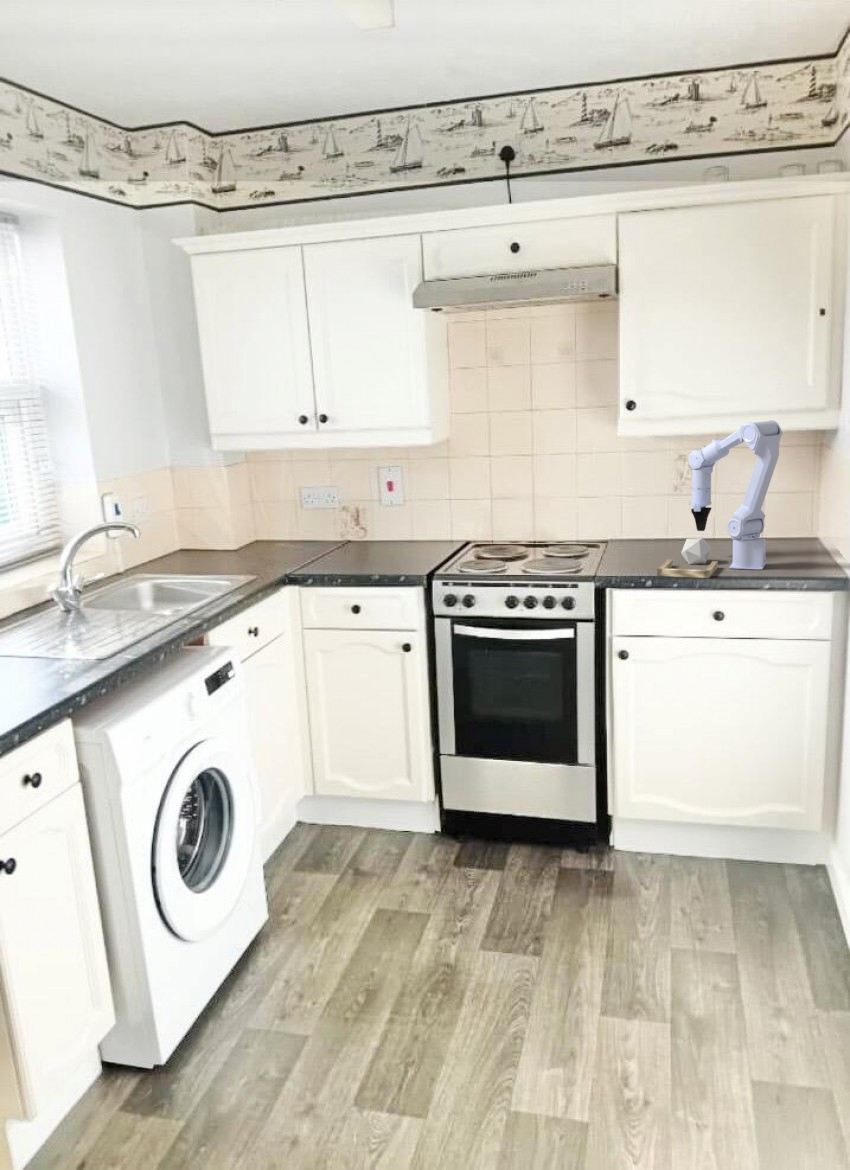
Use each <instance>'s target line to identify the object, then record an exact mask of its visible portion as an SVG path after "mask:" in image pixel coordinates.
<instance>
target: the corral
mask: <svg viewBox="0 0 850 1170" xmlns="http://www.w3.org/2000/svg"><path fill="white" fill-rule="evenodd" d="M673 561H674V560H673V559H667V560H665V561H664V562H663V563H662V564H661V565H660V566H659V567H658V568H657V569H656V570H657V571H656V573H657V574H656V575H657V576H658V577H672V578H673V577H675V578H676V577H677V578H696V579H697V578H702V579H711V577H712V575H713V574H714V573H715V572H716V571H717V569H718V566H719V565H718V564H719V563H718V562H719V561H711V563H710V564H709V565H708V566H707V567H706V568H705V569H691V568H690V569H688V568H687V569H686V568H685V569H684V568H672V567H673V564H674V562H673Z"/></svg>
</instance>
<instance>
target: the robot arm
mask: <svg viewBox="0 0 850 1170" xmlns="http://www.w3.org/2000/svg"><path fill="white" fill-rule="evenodd" d="M782 436H783V431H782V429H781V426H780V424H779V422H778V421H775V420H772V419H770V420H768V421H767V420H765V421H764V420H763V421H757V422H752V421H751V422H746V423H745V424H743V425H741V426H740V427H739V428H738V429H737V430H735V431H734V432H732V433H731V434H729V435H728V436H726V438H724V439H722V438H714V439H712V440H711V442H710V443H708V444H707V445H703V446H702V447H701V449H700V450H698V449H697V450H696V449H695V450H692V452H690V454H689V455H688V459H687V460H688V465H689V467H690V468H691V469H692V470H691V475H692V477H691V501H688V502H687V505H691V506H692V507H693V508H691V509H690V510H691V511H690V512H691V514H692V516H693V518H694V522H695V527H696V530H697V532H704V531H705V530H706V525H707V524H708V523H707V521H708V518H709V515H710V512H711V511H712V507H709V506H711V505H712V501H711V500H712V473H713V472H714V471H713V470H714V466H715V464H716V462H718V461H720V460H722V459H723V458H724V457H726V456H728V455H729V453H730V450H731V449H732V448H733V449H734V448H735V447H736V446H738V445H741V444H742V443H745V444H746V446H747V447H748V448H749V450H750V451H751V452H752V453H753V454H754V455H755V456H756V460H755V464H754V466H753V470H752V472H751V476H750V479H749V482H748V485H747V488H746V491H745V494H744V499H743V501H742V503H741V506H739V508H738V509H736V510H735V511H733V514H732V517H730V519H729V520H728V521H727V524H726V525H727V527H726V529H727V532H728V534H729V536H730V538H731V539H732V562H731V564H730V565H729V569H735V570H736V569H737V570H739V569H740V570H741V569H742V570H759V571H760V570H764V568H765V566H766V562H767V561H766V560H767V557H766V552H767V551H766V550H767V549H766V546H767V541H766V539H765V538H760V537H761V534H762V533H763V531H764V529H765V518H766V514H765V512H764V511H763V510H762V508H763V505H764V501H765V498H766V495H767V492H768V490H769V487H770V483H771V481H772V478H773V475H774V471H775V469H776V466H777V464H778V463H777V462H778V460H779V456H780V442H781V439H782Z"/></svg>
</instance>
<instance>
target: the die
mask: <svg viewBox="0 0 850 1170" xmlns="http://www.w3.org/2000/svg"><path fill="white" fill-rule="evenodd" d="M711 552H712V547H711V546H710V545H709V543H708V542H707V541H706V540H705V538H704V537H693V538H686V539H685V543H684V545H683V548H682V550H681V553H680V554H681V556H682V557H683V558H684V560H686V562H687V563H688V565H700V564H706V563H707V561H708V559H709V556H710V554H711Z"/></svg>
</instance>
